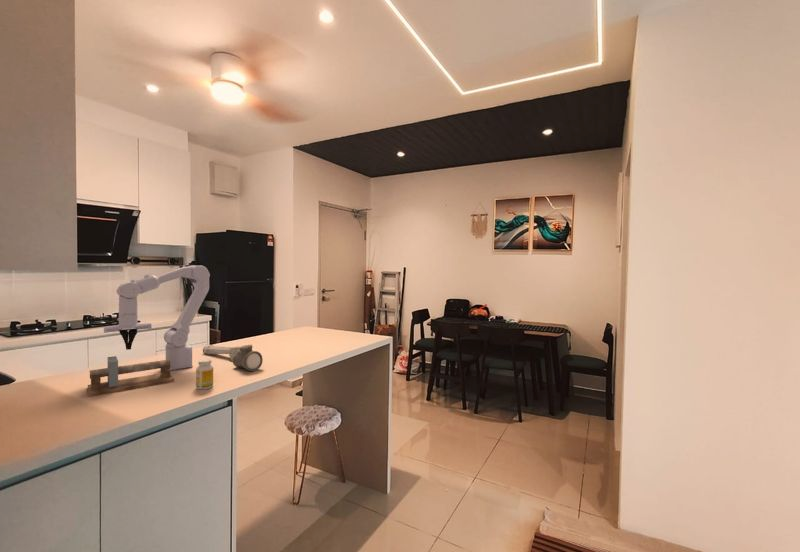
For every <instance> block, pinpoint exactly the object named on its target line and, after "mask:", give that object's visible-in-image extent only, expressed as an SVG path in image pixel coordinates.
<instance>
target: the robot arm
mask: <svg viewBox="0 0 800 552" xmlns="http://www.w3.org/2000/svg"><path fill="white" fill-rule="evenodd" d="M210 276H211V273H210V271H209V269H208V268H207V267H206V266H204V265H202V264H201V265H195V264H192V265H189V266H182V267H179V268H176V269H174V270H170V271H168V272H165V273H163V274H160V275H157V276H156V275H154V274H150V275H149V274H145V275H143V277H141V278H138V279H130V282H123V283H121V284H119V286H118V287H117V289H116V293H117V295H118V324H117V325H111V326H104V327H103V333H112V332H114V333H117V332H119V334H120V336H121V338H122V339H123V342H124V344H125V350H126V351H127V350H128V351H129V350H132V346H133V343H134V340H135V338H136V336H137V334H138V330H147V329H148V330H149V329H151V330H152V323H138V321H139V320H138V296H139V294H140V295H142V294H144V293H148V292H150V291H153V290H156V289H158V288H159V287H160V285H161V284H164V283H167V282H171V281H174V280H177V279H180V278H187V279H188V280H189V281H190V282H191V283H192V285H193V289H194V290H193V291H192V293H191V294H190V296H189V298H188V300H187V302H186V303H185V306H184V307H183V309H182V311H181V312H180V314H179V317H178V318H177V320H176V322H175V323H172V325H171V327H170V328H169V329H168V330H166V332H165V333H164V335H163V340H164V341H165V342H166V345H165V360H169V359H170V362H171V366H170V371H173V370H180V369H187V368H192V367H193V347H192V345H191V344H187V343H188V339H189V337H188V336H189V333H190V326H191V324H192V322H193V321H194V319H195V317H196V315H197V313H198V312H199V309H200V307H201V306H202V303H203V302H204V300H205V299H206V296H207V295H208V293H209V290H210Z"/></svg>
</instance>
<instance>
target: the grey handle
mask: <svg viewBox="0 0 800 552" xmlns="http://www.w3.org/2000/svg"><path fill="white" fill-rule="evenodd" d="M239 347H240V346H233V347H231V346H222V345H221V346H219V345H213V344H210V345H206V346H204V347H203V348H202V353H203V354H205V355H208V356H210V355H211V356H212V355H228V357H229V358H230V361H232V362H233V358H234V356H235V355H236V354H237V352H238V351H240V349H239Z"/></svg>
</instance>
